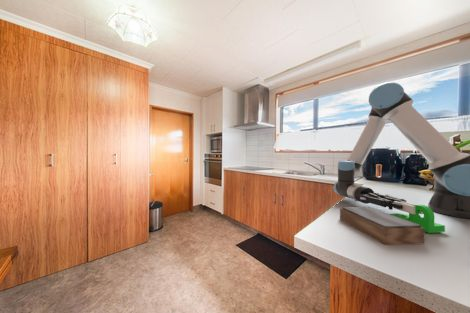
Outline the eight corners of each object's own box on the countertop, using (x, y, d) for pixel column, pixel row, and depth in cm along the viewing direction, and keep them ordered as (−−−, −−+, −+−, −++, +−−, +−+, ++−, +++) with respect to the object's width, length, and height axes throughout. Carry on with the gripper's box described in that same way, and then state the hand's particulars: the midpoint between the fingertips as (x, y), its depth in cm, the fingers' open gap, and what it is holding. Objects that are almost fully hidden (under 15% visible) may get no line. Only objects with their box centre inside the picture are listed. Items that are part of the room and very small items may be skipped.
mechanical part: (444, 231, 53) (444, 207, 53) (429, 232, 52) (429, 207, 52) (402, 218, 65) (402, 198, 65) (389, 218, 64) (389, 198, 64)
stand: (368, 218, 65) (368, 206, 65) (424, 243, 47) (424, 226, 47) (339, 219, 64) (340, 206, 64) (385, 244, 46) (385, 227, 46)
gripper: (375, 201, 80) (438, 220, 57) (345, 201, 79) (397, 221, 55) (375, 186, 80) (438, 199, 56) (345, 186, 79) (397, 199, 55)
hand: (418, 210), depth 56 cm, fingers closed on mechanical part, 2 cm apart
